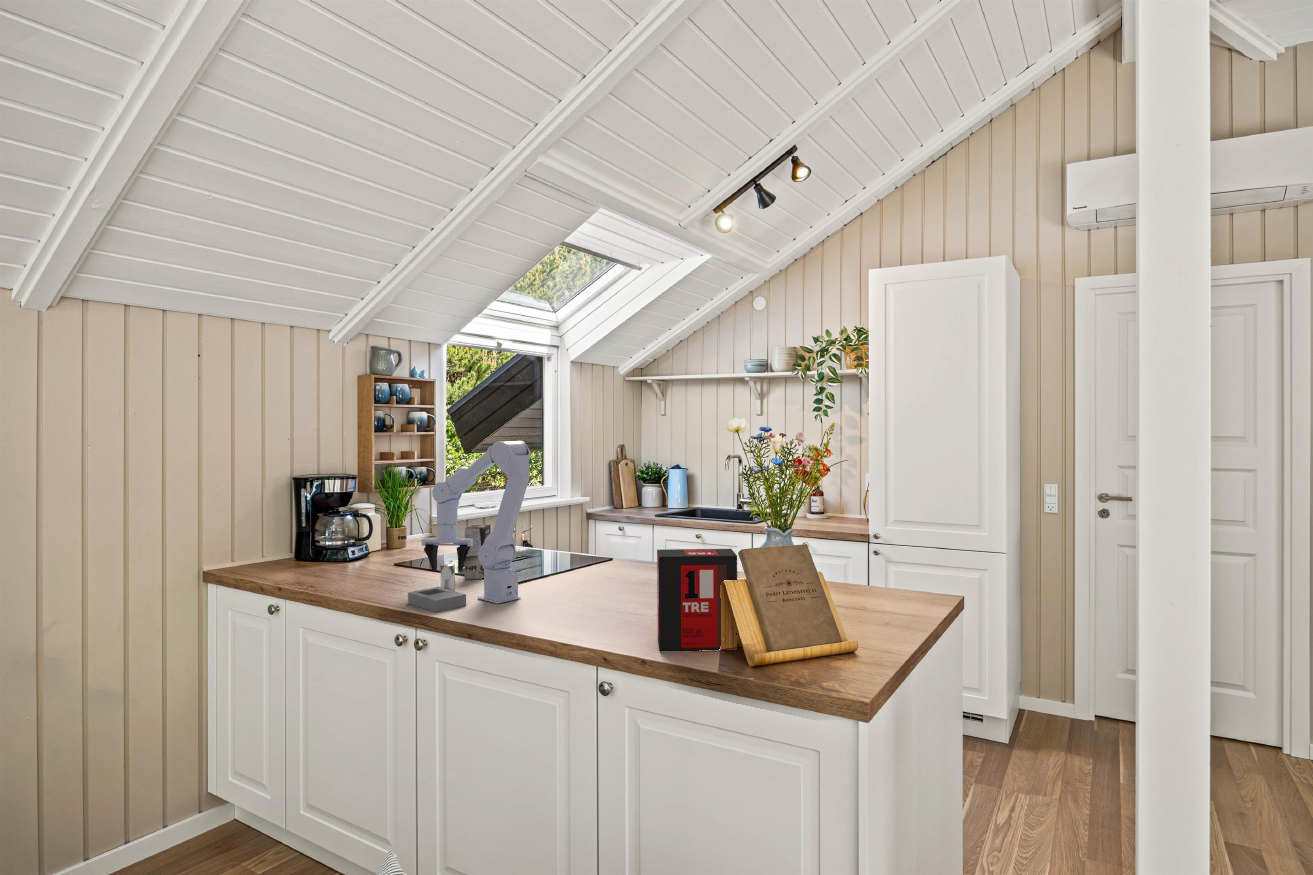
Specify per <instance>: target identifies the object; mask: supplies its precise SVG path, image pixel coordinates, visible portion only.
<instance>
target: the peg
mask: <svg viewBox="0 0 1313 875" xmlns="http://www.w3.org/2000/svg"><path fill="white" fill-rule="evenodd" d="M440 587H441V588H445V589H448V590H452V591H456V564H455V563H443V564H440Z"/></svg>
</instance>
